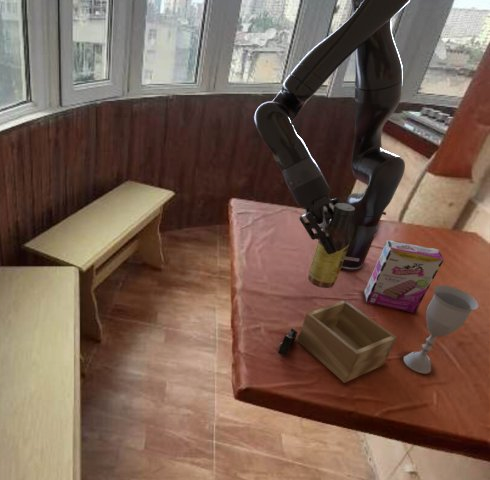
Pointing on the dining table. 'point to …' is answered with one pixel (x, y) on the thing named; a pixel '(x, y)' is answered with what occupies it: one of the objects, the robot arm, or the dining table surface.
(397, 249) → the candy bar box
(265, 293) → the dining table surface
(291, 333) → the lighter
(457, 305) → the chalice
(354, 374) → the caddy
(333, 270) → the sauce bottle
